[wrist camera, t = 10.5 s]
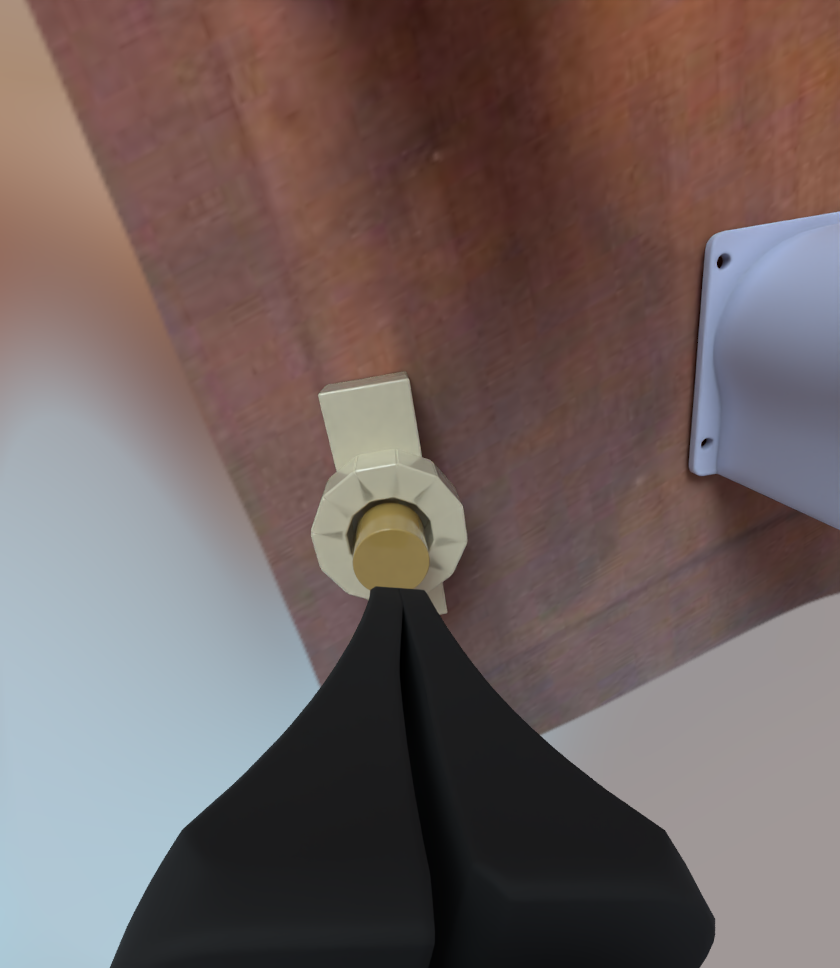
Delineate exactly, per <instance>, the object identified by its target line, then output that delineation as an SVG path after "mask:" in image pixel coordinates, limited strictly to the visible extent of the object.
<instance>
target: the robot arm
mask: <svg viewBox="0 0 840 968" xmlns="http://www.w3.org/2000/svg"><path fill="white" fill-rule="evenodd" d="M720 256H721V257H722V259H723V263H722V266H721V267H720V268H718V267H717V260H718V258H719V257H720ZM704 439H707V441H706V444H705V445H704V446H702V447H701V443H702V441H703V440H704ZM689 470H690V471H691V472H692V473H694V474H696V475H698V476H706V475H712V474H719V475H721V476H724V477H726V478H728V479H730V480H732V481H734V482H737V483H739V484H741V485H743V486H745V487H747V488H750V489H752V490H754V491H756V492H758V493H760V494H763V495H765V496H767V497H769V498H771V499H773V500H776V501H778V502H780V503H782V504H784V505H787V506H789V507H791V508H793V509H795V510H797V511H800V512H802V513H804V514H806V515H808V516H810V517H813V518H815V519H817V520H819V521H821V522H823V523H826V524H828V525H830V526H832V527H834V528H836V529H839V530H840V212H835V213H829V214H823V215H817V216H811V217H805V218H799V219H793V220H787V221H781V222H775V223H769V224H763V225H757V226H751V227H745V228H739V229H733V230H727V231H723V232H719V233H717V234H714V235H713V236H712V237H711V238H710V239H709V241H708V242H707V244H706V248H705V257H704V270H703V283H702V296H701V309H700V322H699V335H698V349H697V362H696V375H695V388H694V401H693V414H692V427H691V440H690V453H689ZM714 937H715V918H714V916H713V914H712V913H711V911H710V909H709V907H708V905H707V903H706V902H705V900H704V898H703V896H702V894H701V892H700V890H699V888H698V886H697V884H696V883H695V881H694V879H693V877H692V875H691V873H690V871H689V869H688V868H687V866H686V864H685V862H684V861H683V859H682V857H681V856H680V854H679V853H678V851H677V849H676V848H675V846H674V844H673V843H672V841H671V839H670V838H669V836H668V835H667V833H666V831H665V830H664V829H662V828H661V827H659V826H658V825H656V824H655V823H654V822H652V821H651V820H649V819H648V818H646V817H645V816H643V815H642V814H641V813H639V812H637V811H636V810H635V809H633V808H632V807H630V806H629V805H628V804H626V803H625V802H623V801H622V800H620V799H619V798H617V797H616V796H615V795H613V794H612V793H610V792H609V791H607V790H606V789H605V788H603V787H602V786H601V785H599V784H598V783H597V782H596V781H594V780H593V779H592V778H590V777H589V776H588V775H587V774H585V773H584V772H583V771H581V770H580V769H579V768H578V767H576V766H575V765H574V764H573V763H571V762H570V761H569V760H568V759H566V758H565V757H564V756H563V755H562V754H560V753H559V752H558V751H557V750H556V749H555V748H553V747H552V746H551V745H550V744H549V743H548V742H546V740H544V739H543V738H542V737H541V736H540V735H539V734H538V733H537V732H536V731H535V730H533V729H532V728H531V727H530V726H529V725H528V724H527V723H526V722H525V721H524V720H523V719H522V718H521V717H520V716H519V715H518V714H517V713H516V712H515V711H514V710H513V709H512V708H511V707H510V706H509V705H508V704H507V703H506V702H505V701H504V700H503V699H502V698H501V697H500V696H499V694H498V693H497V692H496V691H495V690H494V689H493V688H492V687H491V685H490V684H489V683H488V682H487V681H486V679H485V678H484V677H483V676H482V675H481V673H480V672H479V671H478V669H477V668H476V667H475V666H474V664H473V663H472V662H471V661H470V659H469V658H468V656H467V655H466V654H465V652H464V651H463V650H462V648H461V647H460V645H459V644H458V642H457V641H456V640H455V638H454V637H453V635H452V634H451V632H450V631H449V629H448V628H447V626H446V625H445V623H444V621H443V620H442V618H441V617H440V615H439V613H438V612H437V610H436V608H435V607H434V605H433V603H432V601H431V599H430V598H429V596H428V594H427V593H426V592H425V590H420V589H406V588H393V587H379V586H375V587H374V588H372V589H371V590H370V597H369V601H368V604H367V607H366V609H365V612H364V614H363V617H362V619H361V621H360V623H359V625H358V627H357V629H356V631H355V633H354V635H353V637H352V639H351V641H350V643H349V645H348V646H347V648H346V650H345V651H344V653H343V654H342V656H341V658H340V659H339V661H338V663H337V664H336V666H335V668H334V669H333V671H332V672H331V673H330V675H329V676H328V678H327V679H326V681H325V682H324V684H323V685H322V686H321V688H320V689H319V690H318V692H317V693H316V694H315V696H314V697H313V699H312V700H311V701H310V702H309V704H308V705H307V706H306V707H305V708H304V710H303V711H302V712H301V713H300V714H299V716H298V717H297V718H296V719H295V720H294V722H293V723H292V724H291V725H290V727H288V729H287V730H286V731H285V732H284V733H283V734H282V735H281V736H280V738H279V739H278V740H277V741H276V742H275V743H274V744H273V745H272V746H271V747H270V748H269V749H268V750H267V751H266V752H265V753H264V754H263V755H262V756H261V757H260V758H259V760H257V762H255V763H254V765H252V766H251V767H250V768H249V770H248V771H247V772H246V773H245V774H244V775H243V776H242V777H240V778H239V779H238V780H237V781H236V782H235V783H234V784H233V785H232V786H231V787H230V788H229V789H227V790H226V791H225V792H224V793H223V794H222V795H221V796H220V797H218V798H217V799H216V800H215V801H214V802H213V803H212V804H211V805H209V806H208V807H207V808H206V809H205V810H204V811H203V812H202V813H200V814H199V815H198V816H197V817H196V818H195V819H194V820H193V821H192V822H190V823H189V824H188V825H187V826H186V827H185V828H184V829H183V830H182V831H181V833H180V834H179V836H178V837H177V839H176V841H175V842H174V843H173V845H172V847H171V848H170V850H169V851H168V853H167V855H166V856H165V858H164V860H163V861H162V863H161V865H160V866H159V868H158V870H157V871H156V873H155V875H154V877H153V878H152V880H151V882H150V884H149V885H148V887H147V889H146V891H145V893H144V895H143V897H142V899H141V900H140V902H139V904H138V906H137V908H136V910H135V912H134V914H133V916H132V918H131V920H130V922H129V924H128V926H127V928H126V931H125V933H124V935H123V938H122V940H121V942H120V945H119V947H118V950H117V952H116V954H115V957H114V959H113V961H112V964H111V966H110V968H700V966H701V965H702V963H703V962H704V960H705V959H706V957H707V955H708V953H709V951H710V949H711V946H712V944H713V942H714Z"/></svg>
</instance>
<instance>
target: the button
mask: <svg viewBox="0 0 840 968" xmlns="http://www.w3.org/2000/svg"><path fill="white" fill-rule="evenodd" d="M429 565H430V556H429V551H428V546H427V541H426V536H425V531H424V526H423V523H422V521H421V519H420V517H419V516H418V515H417V513H416V512H415V511H413V510H412V509H411V508H409V507H407V506H405V505H402V504H399V503H383V504H379V505H377V506H374V507H372V508H371V509H369V510H368V511H367V512H366V513H365V514H364V515H363V516H362V517H361V519H360V520H359V523H358V525H357V529H356V537H355V545H354V553H353V570H354V573H355V575H356V577H357V579H358V580H359V582H360V583H361V584H362V585H363V586H364V587H365V588H367V589H368V590H371V589H372V588H374V587H375V586H379V587H393V588H406V589H414V588H416V587H417V586H418V585H419V584H420V583H421V582H422V581H423V580H424V578H425V577H426V575H427V573H428V570H429Z"/></svg>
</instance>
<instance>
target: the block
mask: <svg viewBox="0 0 840 968" xmlns="http://www.w3.org/2000/svg"><path fill="white" fill-rule="evenodd" d="M318 398H319V402H320V406H321V410H322V414H323V419H324V423H325V427H326V431H327V435H328V439H329V443H330V447H331V451H332V456H333V460H334V464H335V468H336V473H335V474H334V475H332V476H331V477H330V478H329V480H328V481H327V483H326V486H325V489H324V492H323V495H322V498H321V501H320V504H319V507H318V510H317V513H316V516H315V519H314V522H313V525H312V528H311V538H312V541H313V545H314V548H315V552H316V555H317V559H318V562H319V566H320V567H321V570H322V571H323V572H324V573H325V574H327V575H328V576H329V577H330V578H331V579H332V580H333V581H334V582H335V583H336V584H337V585H339V586H340V587H341V588H342V589H343V590H344V591H345V592H346V593H348V594H349V595H353V596H357V597H361V598H364V599H368V601H369V597H370V590H368V589H367V588H365V587H364V586H363V585H362V584H361V583H360V582H359V580H358V579H357V577H356V575H355V573H354V570H353V553H354V545H355V537H356V529H357V525H358V523H359V520H360V519H361V517H362V516H363V515H364V514H365V513H366V512H367V511H368V510H369V509H371V508H372V507H374V506H377V505H379V504H383V503H399V504H402V505H405V506H407V507H409V508H411V509H412V510H413V511H415V512H416V513H417V515H418V516H419V517H420V519H421V521H422V523H423V526H424V531H425V536H426V541H427V546H428V551H429V556H430V565H429V570H428V573H427V575H426V577H425V578H424V580H423V581H422V582H421V583H420V584H419V585H418V586H417V587H416V588H414V589H420V590H425V592H426V593H427V594H428V596H429V598H430V599H431V601H432V603H433V605H434V607H435V608H436V610H437V612H438V613H439V615H441V614H446V613H447V606H446V600H445V594H444V587H443V581H445V580H446V579H448V578H449V577H450V576H451V575H452V574H453V573H454V571H455V569H456V566H457V564H458V562H459V560H460V558H461V556H462V554H463V551H464V549H465V547H466V545H467V541H468V538H467V531H466V523H465V516H464V508H463V505H462V503H461V501H460V498H459V496H458V494H457V491H456V489H455V487H454V486H453V484H452V483H451V482H450V481H449V480H448V479H447V477H446V476H445V475H444V474H443V473H442V472H441V470H440V469H439V468H438V467H437V466H436V464H435V463H434V462H432V461H431V460H429V459H426V458H423V457H422V453H421V446H420V440H419V434H418V428H417V422H416V416H415V410H414V404H413V397H412V391H411V385H410V380H409V377H408V375H407V373H406V372H399V373H393V374H387V375H381V376H376V377H370V378H364V379H358V380H352V381H347V382H341V383H335V384H329V385H326V386H325V387H324V388H323V389H322V390H321V392H320V393H319V394H318Z"/></svg>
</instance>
